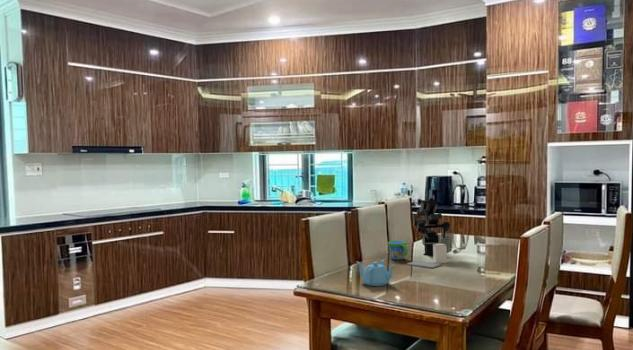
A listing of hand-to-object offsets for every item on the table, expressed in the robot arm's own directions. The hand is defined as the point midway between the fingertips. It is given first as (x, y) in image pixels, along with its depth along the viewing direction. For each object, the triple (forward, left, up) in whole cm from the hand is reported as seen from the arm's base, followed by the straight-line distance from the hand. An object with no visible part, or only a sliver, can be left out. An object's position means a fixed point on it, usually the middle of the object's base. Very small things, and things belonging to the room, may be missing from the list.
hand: (436, 238), depth 266 cm
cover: (+4, -4, -12) cm, 14 cm away
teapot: (+4, -62, -13) cm, 64 cm away
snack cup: (-20, -11, -13) cm, 26 cm away
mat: (+2, -16, -12) cm, 21 cm away
